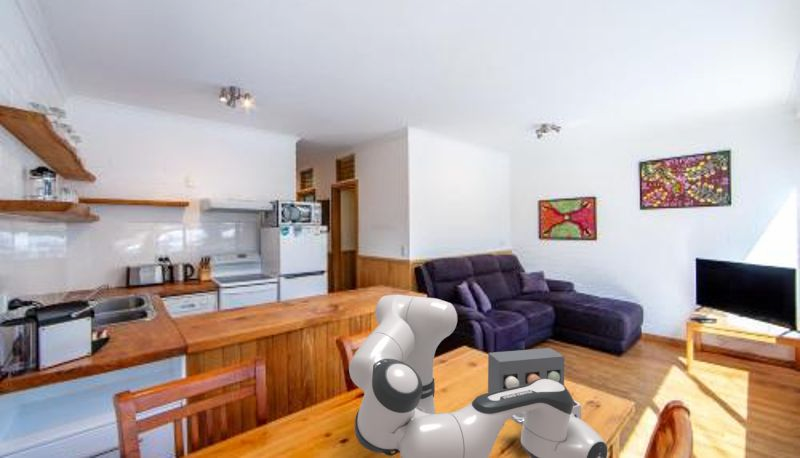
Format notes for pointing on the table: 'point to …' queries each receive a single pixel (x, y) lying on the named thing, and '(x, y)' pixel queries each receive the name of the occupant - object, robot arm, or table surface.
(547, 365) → the control box
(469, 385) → the table surface
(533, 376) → the terracotta button
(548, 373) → the sage button
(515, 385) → the cream button
